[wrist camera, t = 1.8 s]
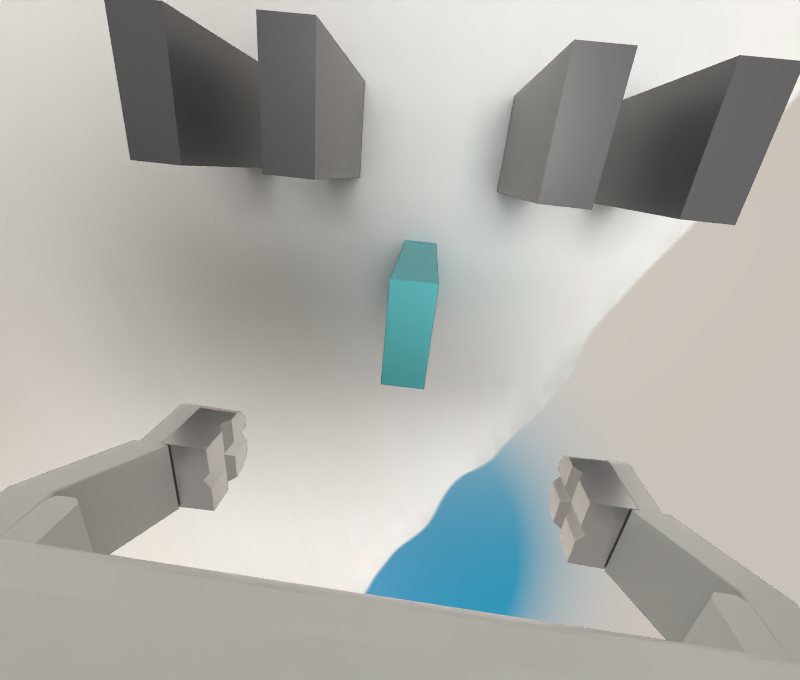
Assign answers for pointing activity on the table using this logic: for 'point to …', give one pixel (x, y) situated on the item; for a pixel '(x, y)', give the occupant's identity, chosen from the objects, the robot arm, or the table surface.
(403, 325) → the domino teal
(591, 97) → the domino
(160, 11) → the domino
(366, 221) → the table surface
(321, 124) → the domino
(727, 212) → the domino
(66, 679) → the robot arm
